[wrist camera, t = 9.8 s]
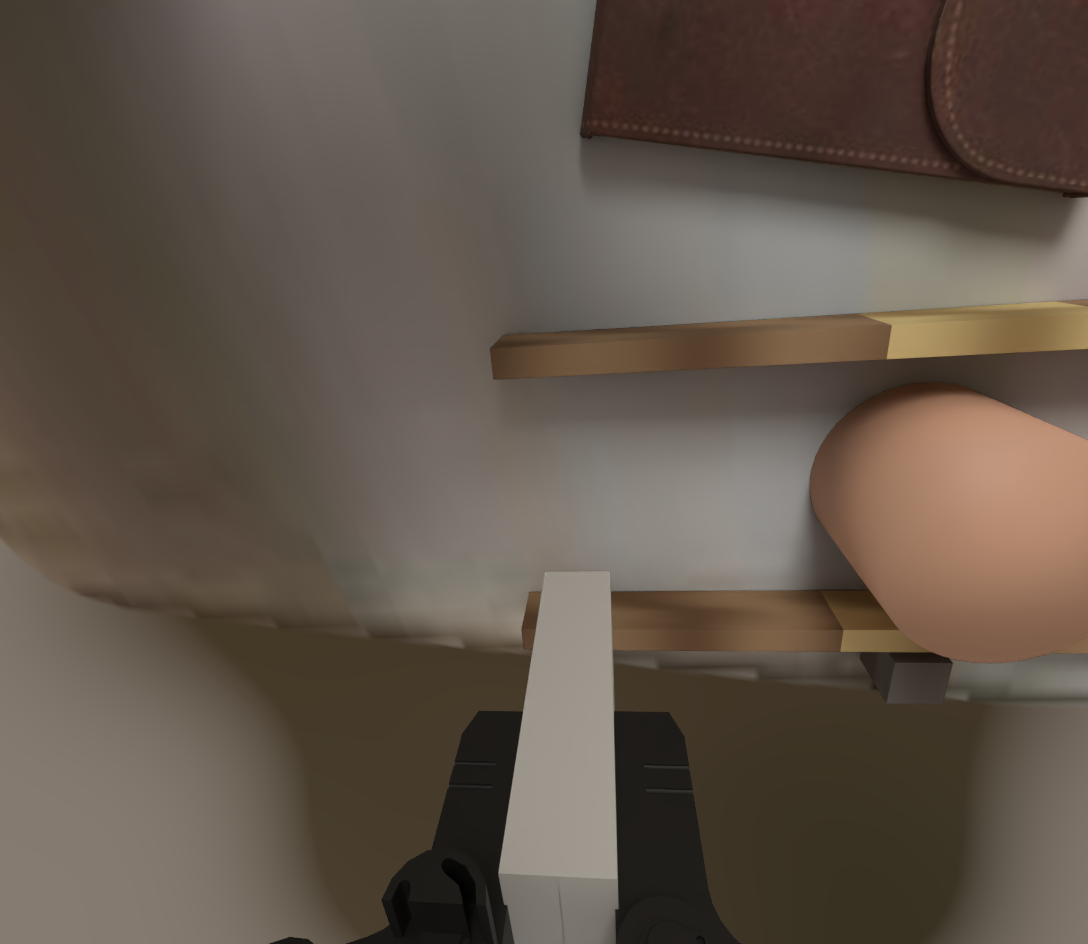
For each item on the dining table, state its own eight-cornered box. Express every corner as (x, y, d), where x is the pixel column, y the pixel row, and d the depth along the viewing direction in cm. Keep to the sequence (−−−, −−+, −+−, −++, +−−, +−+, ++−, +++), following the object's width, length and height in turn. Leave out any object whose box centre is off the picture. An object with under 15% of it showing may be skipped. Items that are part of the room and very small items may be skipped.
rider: (801, 557, 23) (863, 662, 17) (819, 387, 20) (900, 447, 15) (990, 554, 22) (1120, 663, 16) (1036, 375, 19) (1210, 434, 14)
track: (536, 655, 26) (529, 697, 24) (503, 335, 20) (490, 348, 18) (1320, 662, 22) (1402, 712, 20) (1544, 271, 17) (1695, 278, 14)
